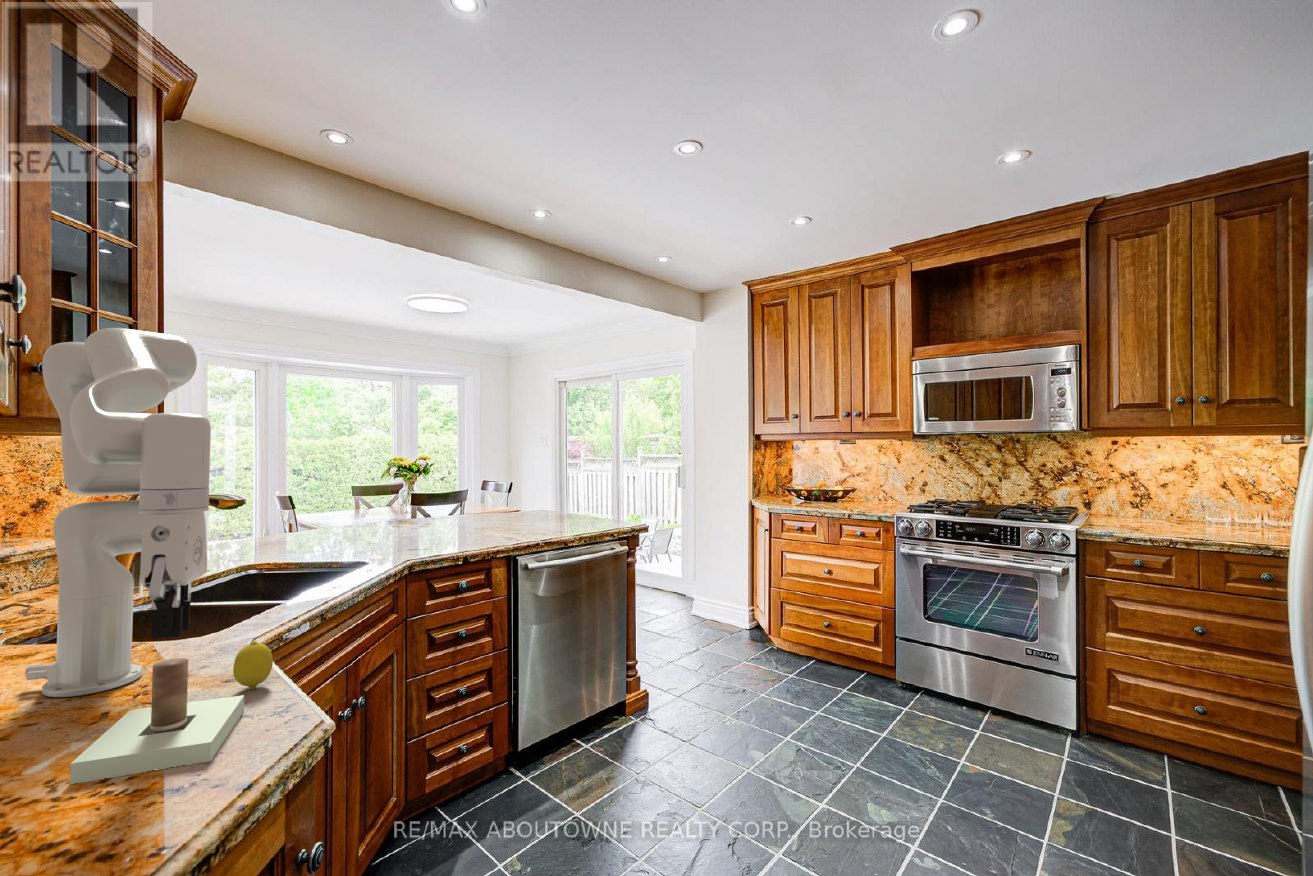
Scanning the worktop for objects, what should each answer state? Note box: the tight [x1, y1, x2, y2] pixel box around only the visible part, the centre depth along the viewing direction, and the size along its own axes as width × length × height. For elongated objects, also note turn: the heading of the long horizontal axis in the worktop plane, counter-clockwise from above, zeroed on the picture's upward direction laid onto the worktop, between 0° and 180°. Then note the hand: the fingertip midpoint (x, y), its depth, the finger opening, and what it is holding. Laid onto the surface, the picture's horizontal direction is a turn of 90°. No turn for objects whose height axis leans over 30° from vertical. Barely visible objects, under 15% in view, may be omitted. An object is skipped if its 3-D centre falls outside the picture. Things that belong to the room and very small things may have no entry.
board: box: [69, 694, 245, 785], centre depth 80 cm, size 14×16×2 cm
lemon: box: [232, 640, 274, 690], centre depth 99 cm, size 6×6×8 cm
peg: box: [150, 657, 189, 734], centre depth 80 cm, size 4×4×11 cm
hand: (171, 633), depth 81 cm, fingers closed
